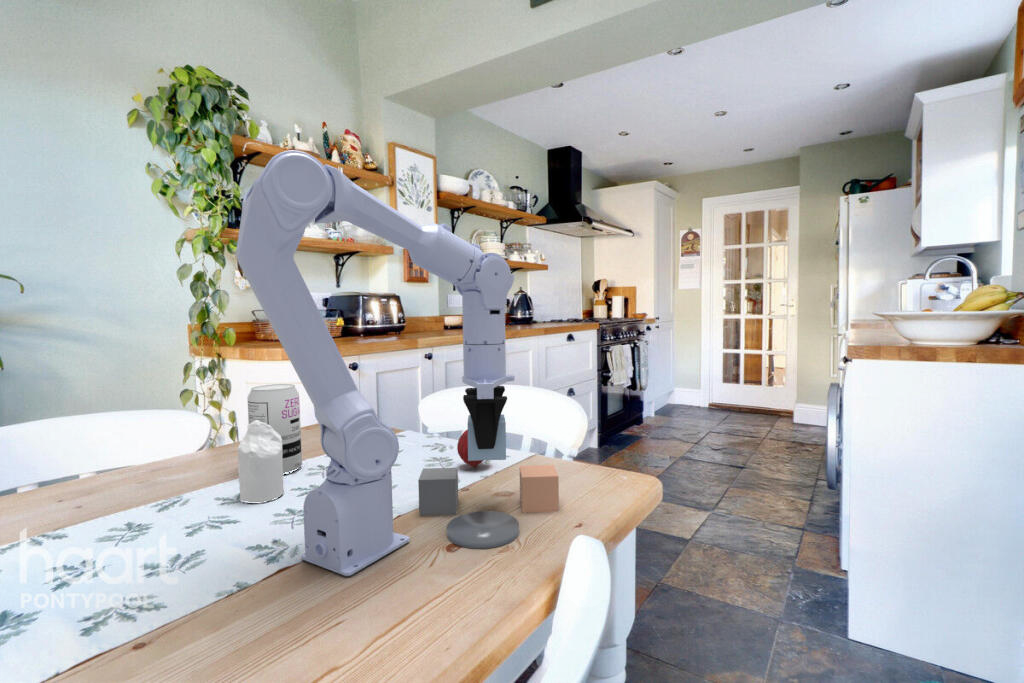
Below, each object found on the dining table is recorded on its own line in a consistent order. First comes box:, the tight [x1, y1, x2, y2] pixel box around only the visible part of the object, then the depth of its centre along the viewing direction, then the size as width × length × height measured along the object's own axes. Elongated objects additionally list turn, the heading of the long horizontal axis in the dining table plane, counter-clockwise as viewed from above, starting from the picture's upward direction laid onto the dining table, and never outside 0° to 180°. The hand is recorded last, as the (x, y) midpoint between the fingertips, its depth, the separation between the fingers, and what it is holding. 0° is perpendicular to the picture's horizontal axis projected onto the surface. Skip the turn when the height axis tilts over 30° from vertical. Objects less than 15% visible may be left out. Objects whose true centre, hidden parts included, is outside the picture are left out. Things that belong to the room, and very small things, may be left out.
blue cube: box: [467, 413, 507, 461], centre depth 68 cm, size 5×5×5 cm
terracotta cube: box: [519, 464, 560, 513], centre depth 70 cm, size 5×5×5 cm
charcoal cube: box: [417, 467, 459, 517], centre depth 70 cm, size 5×5×5 cm
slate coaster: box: [446, 510, 520, 550], centre depth 62 cm, size 9×9×1 cm
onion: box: [456, 428, 485, 468], centre depth 87 cm, size 6×6×8 cm
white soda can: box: [247, 383, 303, 473], centre depth 87 cm, size 8×8×15 cm
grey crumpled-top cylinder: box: [237, 420, 285, 502], centre depth 75 cm, size 6×12×6 cm
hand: (485, 442), depth 68 cm, fingers closed on blue cube, 5 cm apart
